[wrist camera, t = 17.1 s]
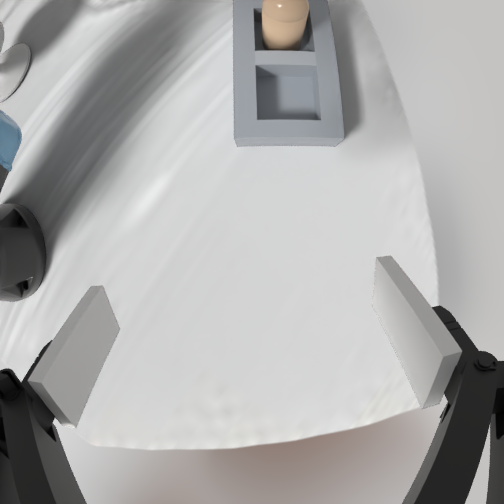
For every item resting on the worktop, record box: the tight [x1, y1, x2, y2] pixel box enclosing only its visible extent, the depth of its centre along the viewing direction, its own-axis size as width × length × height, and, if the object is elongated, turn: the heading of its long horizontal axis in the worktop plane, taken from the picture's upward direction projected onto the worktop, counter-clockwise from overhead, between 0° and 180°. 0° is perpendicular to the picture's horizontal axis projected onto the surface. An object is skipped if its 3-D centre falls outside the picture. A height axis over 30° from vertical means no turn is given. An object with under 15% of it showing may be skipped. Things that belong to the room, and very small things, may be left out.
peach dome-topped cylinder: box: [262, 0, 309, 51], centre depth 29 cm, size 5×5×11 cm
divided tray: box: [233, 0, 344, 147], centre depth 33 cm, size 12×20×4 cm, turn 1°
